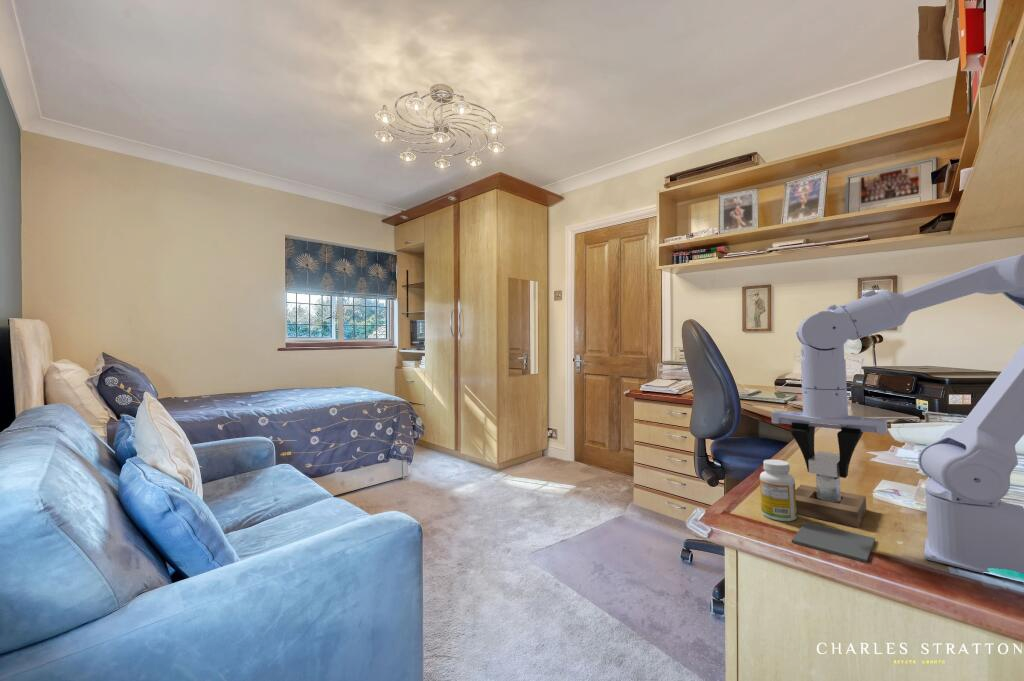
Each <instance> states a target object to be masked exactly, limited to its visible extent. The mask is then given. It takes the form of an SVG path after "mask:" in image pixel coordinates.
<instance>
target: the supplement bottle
mask: <svg viewBox="0 0 1024 681" xmlns="http://www.w3.org/2000/svg"><path fill="white" fill-rule="evenodd" d="M763 470H764V471H761V473H760V475H759V487H760V488H759V491H760V492H759V493H760V508H761V509H760V510H761V513H762V515H763V516H764V517H766V518H768V519H770V520H775V521H780V522H793V521H795V520H796V519H797V517H798V516H797V515H798V514H797V512H796V494H795V490H796V482H795V478H794V476H793V475H791V474H790V471H791V470H790V463H789V462H788V461H786V460H781V459H771V458H770V459H764V460H763Z"/></svg>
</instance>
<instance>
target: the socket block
mask: <svg viewBox="0 0 1024 681" xmlns="http://www.w3.org/2000/svg"><path fill="white" fill-rule="evenodd" d="M795 494H796V512H797V515H800V516H806V517H810V518H814V519H817V520H818V519H819V520H824V521H827V522H831V523H837V524H840V525H845V526H848V527H849V526H850V527H855V528H859V527H860V525H861V522H862V521H863V519H864V516H865V514H866V512H867V497H866V496H865V495H861V494H856V493H851V492H844V491H840V495H841V501H838V502H831V501H825V500H822V499H819V498H818V497H817V486H812V485H806V484H799V486H798V487H797V488H795Z"/></svg>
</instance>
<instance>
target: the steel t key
mask: <svg viewBox="0 0 1024 681" xmlns="http://www.w3.org/2000/svg"><path fill="white" fill-rule="evenodd" d="M808 463H809V472H808V473H809V474H814V475H815V479H816V480H815V481H816V482H815V483H816V487H817V497H818V498H819V499H822V500H825V501H831V502H838V501H841V495H840V492H841V477H840V472H839V464H840V453H833V452H829V451H821V450H819V451H817V452H815V455H813V456H812V457H811V458H810V459H809V460H808Z"/></svg>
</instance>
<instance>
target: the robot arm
mask: <svg viewBox="0 0 1024 681" xmlns="http://www.w3.org/2000/svg"><path fill="white" fill-rule="evenodd" d="M976 293H977V294H984V295H997V294H1001V295H1003V296H1004V297H1006V298H1007V299H1008V300H1010V301H1012V302H1013V303H1014V304H1015V305H1017V306H1018V307H1019V308H1021V309H1022V310H1024V253H1022V254H1018V255H1014V256H1009V257H1005V258H1001V259H997V260H992V261H989V262H985V263H982V264H977V265H975V266H971V267H968V268H967V269H963V270H961V271H958V272H955V273H954V274H951V275H948V276H945V277H943V278H940V279H936V280H935V281H931V282H928V283H926V284H924V285H921V286H917V287H915V288H913V289H909V290H907V291H905V292H901V293H897V292H892V291H889V290H885V289H884V290H880V291H877V292H876V291H875V289H871V290H869V291H865V292H864V293H861V297H860V298H857V299H854V300H852V301H851V300H850V301H849V302H845V303H843V304H841V305H837V306H836V304H831V305H829V306H826V309H827V310H822V311H819V312H817V313H815V314H812V315H810V316H809V315H808V316H807V317H805V318H804V319H802V321H801V322H800V324H799V325H798V328H797V331H796V338H797V340H798V341H799V343H801V348H800V354H801V359H800V370H801V372H800V373H801V375H800V376H801V377H800V378H801V396H802V411H787V410H785V411H784V410H773V411H772V412H770V413H771V424H777V425H778V424H779V425H780V424H783V425H784V424H785V425H791V428H790V429H789V431H790V433H791V435H792V437H793V438H794V440H795V442H796V443H797V445H798V447H799V449H800V451H801V453H802V456H803V459H804V462H805V466H806V470H807V472H808V473H809V463H808V460H809V459H810V458H811V457H812V456H813V455H815V454H816V452H815V430H816V428H822V429H823V428H824V429H834V430H839V431H838V432H837V433H836V434H837V435H836V436H837V442H838V443H837V444H838V450H839V453H838V454H840V464H839V472H840V478H842V479H843V478H844V479H846V478H847V477H848V476H849V468H850V463H851V460H852V457H853V453H854V451H855V449H856V447H857V446H858V443H859V441H860V439H861V437H863V434H864V432H866V433H873V434H874V433H875V434H876V435H887V434H888V420H887V419H882V418H873V417H863V416H857V415H849V411H848V410H849V408H848V387H847V366H846V365H847V362H846V359H845V346H844V345H845V344H846V342H847V341H848V340H850V341H855V340H858V339H862V338H864V337H869V336H871V335H875V334H877V333H880V332H884V331H887V330H890V329H893V328H897V327H899V326H902V325H904V324H905V322H906V320H907V318H908V317H909V315H910V314H911V313H914V312H916V311H919V310H923V309H926V308H929V307H933V306H936V305H940V304H943V303H946V302H947V303H948V302H949V301H953V300H956V299H959V298H962V297H967V296H969V295H973V294H976ZM1023 436H1024V343H1023V344H1022V345H1021V346H1020V348H1019V349H1018V350H1017V351H1016V353H1015V354H1014V355H1013V356H1012V357H1011V359H1010V360H1009V362H1008V363H1007V364H1006V366H1004V368H1003V370H1002V371H1001V372H1000V374H999V375H998V376H997V377H996V378H995V380H994V381H993V382H992V383H991V385H990V386H989V387H988V389H987V390H986V391H985V393H984V395H982V397H981V398H980V399H979V400H978V402H977V403H976V405H974V407H973V408H972V410H970V412H969V414H968V415H967V416H966V417H965V419H964V420H963V422H961V423H960V424H958V425H955V426H953V427H952V428H950V429H947V430H946V431H945V432H944V433H943V434H942V436H941V437H940V438H939V439H937V440H936V441H934V442H931V443H928V444H927V445H925V446H923V447H922V448H921V450H920V451H919V453H918V456H917V463H918V466H919V469H920V470H921V471H922V473H923V474H924V475H925V476H927V477H928V481H927V483H926V484H925V487H924V490H925V492H924V493H925V507H926V508H925V509H926V522H927V537H925V544H924V550H923V558H924V559H925V560H927V561H933V562H937V563H940V564H945V565H947V566H948V565H949V566H952V567H957V568H960V569H964V570H969V571H973V572H977V573H980V574H984V573H983V572H989V571H988V570H987V569H988V568H995V569H996V568H998V569H1007V570H1013V571H1016V572H1019V573H1022V574H1024V506H1023V505H1020V504H1014V503H1010V502H1006V501H1002V499H1003V497H1005V496H1006V495H1007V494H1008V492H1009V490H1010V488H1011V476H1012V472H1013V471H1014V469H1015V467H1017V466H1018V464H1019V460H1018V455H1017V451H1016V446H1017V443H1018V442H1019V441H1020V440H1021V439H1022V437H1023Z"/></svg>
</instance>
